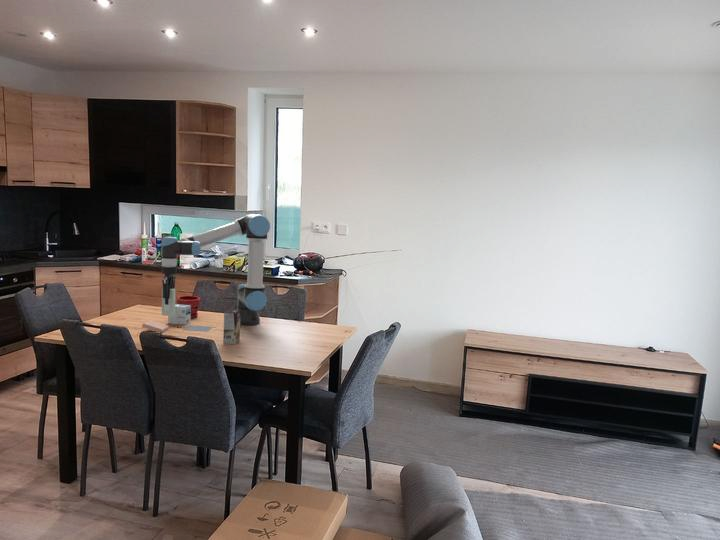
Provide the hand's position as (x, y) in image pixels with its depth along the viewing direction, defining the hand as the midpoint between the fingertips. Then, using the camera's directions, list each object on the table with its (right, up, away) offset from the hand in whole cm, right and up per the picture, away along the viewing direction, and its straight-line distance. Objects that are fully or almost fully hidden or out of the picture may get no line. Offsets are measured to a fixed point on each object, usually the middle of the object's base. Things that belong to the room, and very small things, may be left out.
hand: (168, 309), depth 292 cm
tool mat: (+13, -12, +10) cm, 20 cm away
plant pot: (-2, -8, +40) cm, 41 cm away
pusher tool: (0, -3, 0) cm, 3 cm away
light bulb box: (-1, -10, +21) cm, 24 cm away
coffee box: (+36, -16, -11) cm, 41 cm away
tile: (-2, -11, +1) cm, 11 cm away
